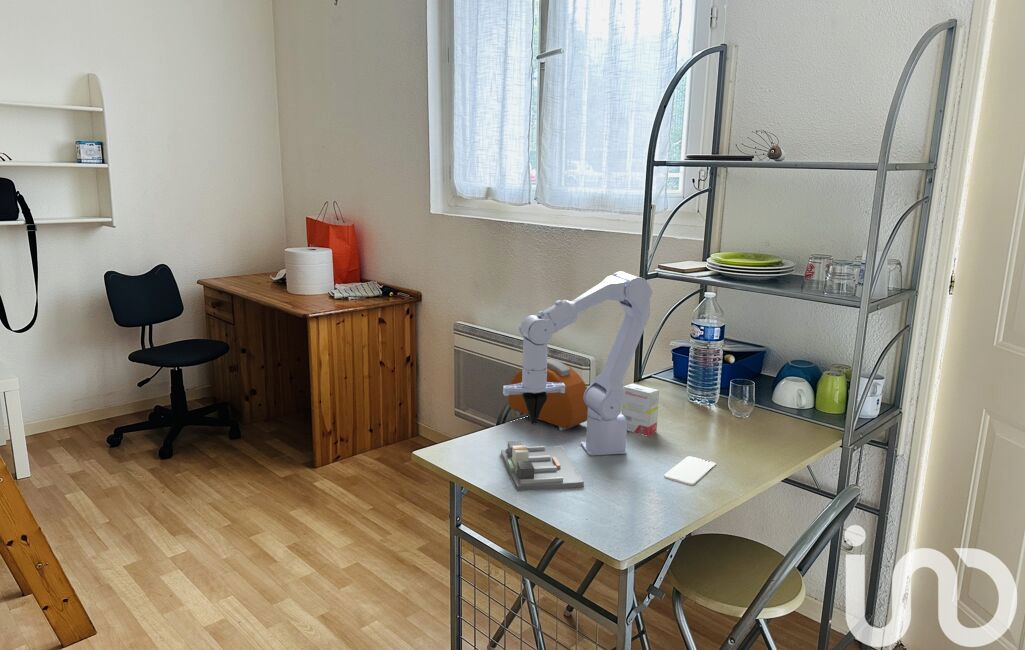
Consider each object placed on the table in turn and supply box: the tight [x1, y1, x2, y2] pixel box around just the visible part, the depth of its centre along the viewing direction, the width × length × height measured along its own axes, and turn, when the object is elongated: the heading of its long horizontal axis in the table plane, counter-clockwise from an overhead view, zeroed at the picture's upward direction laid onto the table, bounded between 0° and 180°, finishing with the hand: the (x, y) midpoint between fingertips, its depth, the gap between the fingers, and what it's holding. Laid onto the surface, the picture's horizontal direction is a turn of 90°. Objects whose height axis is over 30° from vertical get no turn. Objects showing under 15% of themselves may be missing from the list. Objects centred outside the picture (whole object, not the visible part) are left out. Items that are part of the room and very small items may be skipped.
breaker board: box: [500, 440, 585, 492], centre depth 174 cm, size 15×20×4 cm
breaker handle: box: [512, 444, 529, 468], centre depth 173 cm, size 3×4×4 cm
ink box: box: [621, 383, 660, 437], centre depth 199 cm, size 9×5×12 cm, turn 51°
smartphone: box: [663, 455, 717, 486], centre depth 177 cm, size 7×1×15 cm
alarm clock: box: [507, 358, 588, 431], centre depth 205 cm, size 23×9×17 cm, turn 46°
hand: (533, 422), depth 179 cm, fingers closed
